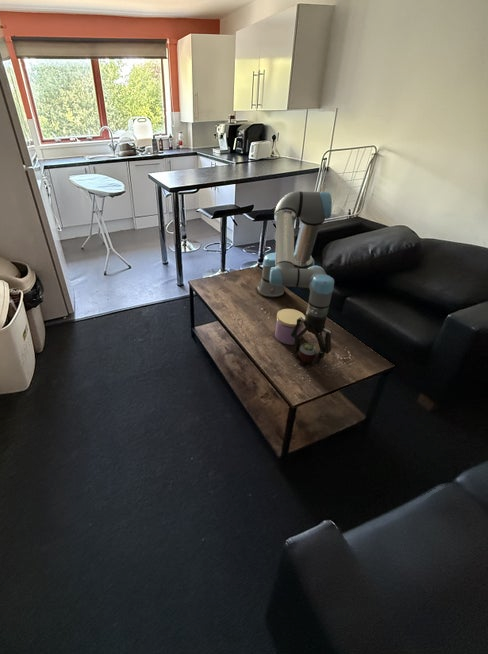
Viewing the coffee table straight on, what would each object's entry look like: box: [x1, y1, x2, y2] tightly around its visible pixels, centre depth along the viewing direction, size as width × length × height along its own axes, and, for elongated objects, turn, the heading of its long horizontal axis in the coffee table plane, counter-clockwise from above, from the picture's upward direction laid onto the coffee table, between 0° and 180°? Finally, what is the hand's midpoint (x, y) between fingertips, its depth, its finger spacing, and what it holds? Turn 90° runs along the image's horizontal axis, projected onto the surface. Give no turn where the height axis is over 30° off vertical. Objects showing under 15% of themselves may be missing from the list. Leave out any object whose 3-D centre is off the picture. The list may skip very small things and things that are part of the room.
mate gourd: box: [297, 341, 317, 366], centre depth 132 cm, size 8×8×15 cm
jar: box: [274, 308, 306, 345], centre depth 148 cm, size 13×13×12 cm
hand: (307, 356), depth 134 cm, fingers open, 9 cm apart
